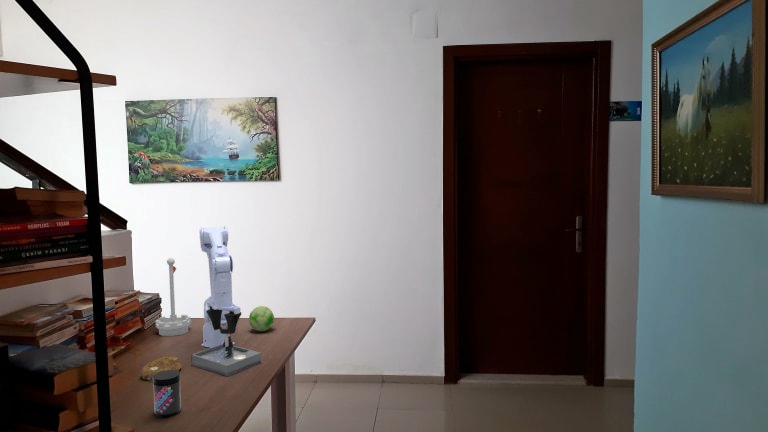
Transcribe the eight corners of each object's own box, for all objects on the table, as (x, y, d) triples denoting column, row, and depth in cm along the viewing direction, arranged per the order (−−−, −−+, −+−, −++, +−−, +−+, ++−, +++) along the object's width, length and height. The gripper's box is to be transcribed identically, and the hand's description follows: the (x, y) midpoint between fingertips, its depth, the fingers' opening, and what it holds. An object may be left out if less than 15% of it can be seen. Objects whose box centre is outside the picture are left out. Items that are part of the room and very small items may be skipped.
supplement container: (150, 411, 141) (148, 374, 140) (176, 404, 146) (174, 367, 145) (159, 420, 136) (157, 381, 135) (185, 412, 141) (183, 375, 140)
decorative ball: (250, 327, 216) (250, 303, 215) (275, 326, 217) (275, 303, 216) (247, 335, 206) (246, 310, 206) (273, 334, 208) (272, 309, 207)
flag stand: (183, 337, 205) (180, 260, 202) (150, 337, 205) (146, 260, 202) (196, 326, 218) (193, 255, 215) (164, 327, 218) (161, 255, 215)
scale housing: (191, 365, 175) (190, 353, 175) (225, 352, 187) (224, 342, 186) (227, 376, 165) (227, 364, 165) (260, 362, 177) (260, 351, 176)
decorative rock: (148, 367, 175) (138, 386, 161) (147, 355, 175) (136, 374, 160) (185, 362, 178) (177, 381, 163) (183, 350, 177) (176, 368, 162)
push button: (233, 357, 175) (232, 327, 174) (217, 357, 174) (216, 328, 174) (238, 350, 181) (236, 322, 181) (222, 350, 181) (221, 322, 180)
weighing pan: (195, 359, 175) (195, 357, 175) (224, 349, 185) (224, 346, 185) (219, 366, 169) (219, 364, 169) (248, 355, 179) (248, 353, 178)
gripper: (199, 291, 177) (200, 330, 178) (227, 297, 169) (229, 338, 170) (216, 287, 183) (217, 325, 184) (244, 292, 175) (246, 332, 176)
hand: (224, 331), depth 178 cm, fingers open, 7 cm apart
